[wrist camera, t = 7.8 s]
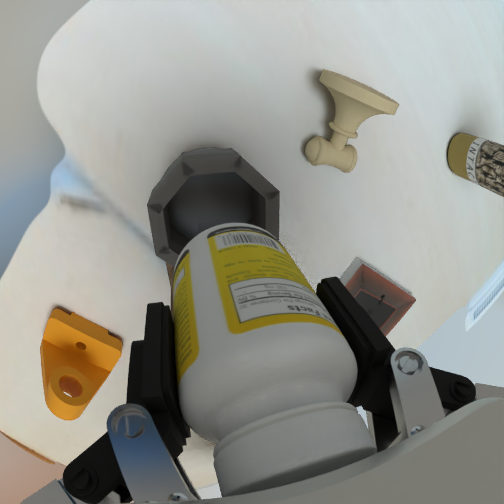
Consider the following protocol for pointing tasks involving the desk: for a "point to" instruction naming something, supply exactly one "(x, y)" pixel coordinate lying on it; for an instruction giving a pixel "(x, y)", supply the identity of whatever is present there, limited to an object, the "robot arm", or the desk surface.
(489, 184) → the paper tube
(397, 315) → the picture frame
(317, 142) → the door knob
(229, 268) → the supplement bottle
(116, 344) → the bracket
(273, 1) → the desk surface
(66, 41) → the desk surface
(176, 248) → the cup bracket
